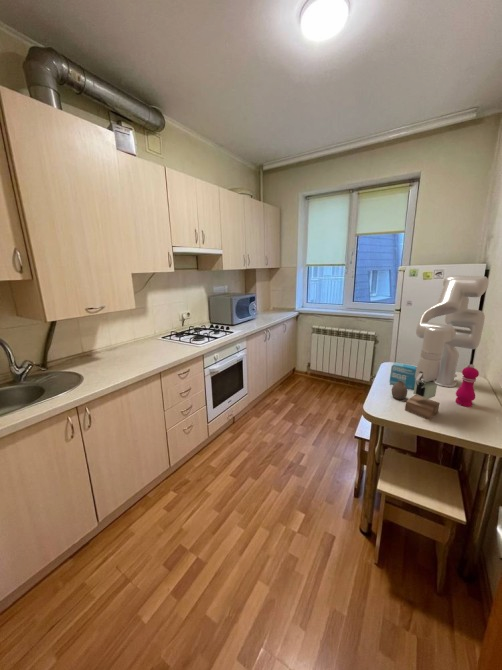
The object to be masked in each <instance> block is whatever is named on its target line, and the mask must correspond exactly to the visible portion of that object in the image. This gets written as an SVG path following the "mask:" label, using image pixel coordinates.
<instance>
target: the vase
mask: <svg viewBox="0 0 502 670" xmlns="http://www.w3.org/2000/svg"><path fill="white" fill-rule="evenodd" d="M391 395H392V397H393V398H394V399H396V400H404V399H405V398H407V395H408V389H407V387H406V386H405V384H404V382H403V381H398V382H397V383H396V384H394V385H392V387H391Z"/></svg>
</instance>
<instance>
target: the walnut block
mask: <svg viewBox="0 0 502 670" xmlns="http://www.w3.org/2000/svg"><path fill="white" fill-rule="evenodd" d="M439 407H440V402H438V401H436V400H432V399H431V398H429V399H425V398H423V397H420V396H418V395H415V394H413V396H411V397H410V398H409V399H407V400H406V401H405V406H404V411H405V412H408V413H410V414H412V415H416V416H418V417H421V418H423V419H426V420H428V421H431V420H432V418H433V417H434V416H436V415H437V413H439Z"/></svg>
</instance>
